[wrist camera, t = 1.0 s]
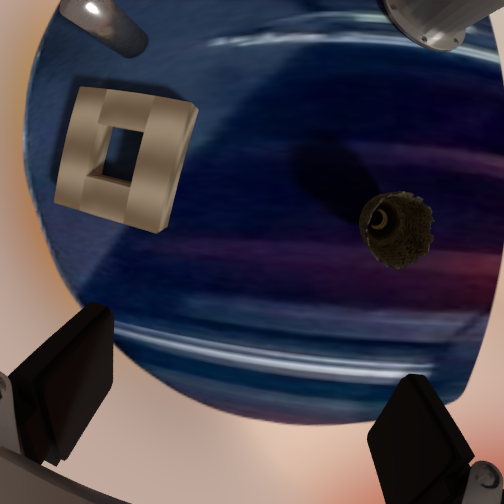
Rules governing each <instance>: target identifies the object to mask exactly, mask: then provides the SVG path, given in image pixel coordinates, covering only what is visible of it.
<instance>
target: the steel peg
mask: <svg viewBox="0 0 504 504" xmlns="http://www.w3.org/2000/svg"><path fill="white" fill-rule="evenodd" d="M59 10H60V13H61V15H63V16H64V17H66V18H67V19H69V20H70V21H72V22H74V23H75V24H77V25H78V26H80V27H81V28H83V29H84V30H86V31H87V32H89V33H90V34H92V35H93V36H95V37H96V38H97V39H99V40H100V41H102V42H103V43H105V44H106V45H108V46H109V47H110V48H112V49H113V50H115V51H116V52H117V53H119V54H120V55H122V56H123V57H125V58H134V57H137V56H139V55H140V54H142V53H143V52H144V50H145V49H146V47H147V45H148V36H147V35H146V34H145V33H144V32H143V30H142V29H141V28H140V27H139V26H138V25H137V24H136V23H135V22H134V21H133V20H132V19H131V18H130V17H129V16H128V15H127V14H126V13H125V12H124V11H123V10H122V9H121V8H120V7H119V6H118V5H117V4H116V3H115V2H114V1H113V0H62V1H61V3H60V8H59Z"/></svg>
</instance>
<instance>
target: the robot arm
mask: <svg viewBox="0 0 504 504" xmlns="http://www.w3.org/2000/svg"><path fill="white" fill-rule="evenodd" d="M383 3H384V6H385V9H386V11H387V13H388V15H389V17H390V18H391V20H392V21H393V23H394V24H395V25H396V26H397V27H398V29H399V30H400V31H401V32H403V33H404V34H405V35H406V36H407V37H408V38H410V39H411V40H412V41H414V42H415V43H417V44H419V45H420V46H422V47H425V48H427V49H430V50H433V51H437V52H447V51H451V50H453V49H455V48H457V47H458V46H460V45H461V43H462V42H463V40H464V37H465V30H466V29H465V28H467V27H469V26H470V25H472V24H474V23H476V22H477V21H479V20H481V19H482V18H484V17H486V16H488V15H489V14H491V13H493V12H495V11H496V10H498V9H500V8H502V7H504V0H383ZM113 339H114V314H113V313H111V312H110V308H109V307H107V306H105V305H102V304H99V303H96V302H90V303H89V304H88V305H87V306H85V307H84V308H83V309H82V310H81V311H80V312H78V313H77V314H76V315H75V316H74V317H73V318H72V319H70V320H69V321H68V322H67V323H66V324H65V325H64V326H62V327H61V328H60V329H59V330H58V331H57V332H55V333H54V334H53V335H52V336H51V337H50V338H48V339H47V340H46V341H45V342H44V343H43V344H42V345H41V346H40V347H39V348H37V349H36V350H35V351H34V352H33V353H32V354H31V355H30V356H29V357H28V358H27V359H26V360H25V361H23V362H22V363H21V364H20V365H19V366H18V367H17V368H16V369H15V370H14V371H13V372H12V373H11V374H10V375H9V376H8V377H7V376H6V375H5V374H3V373H2V372H0V504H131V503H128V502H125V501H122V500H119V499H117V498H114V497H111V496H109V495H106V494H103V493H101V492H98V491H96V490H93V489H91V488H88V487H86V486H84V485H81V484H79V483H77V482H75V481H72V480H70V479H68V478H66V477H64V476H62V475H60V474H58V473H56V472H54V471H52V470H50V469H48V468H46V467H44V466H42V465H41V464H42V463H43V461H44V460H45V461H47V462H49V463H50V464H52V465H54V466H57V465H58V463H59V462H60V460H61V459H62V460H64V461H65V460H66V459H67V458H68V457H69V455H70V453H71V452H72V450H73V448H74V447H75V445H76V443H77V442H78V440H79V438H80V437H81V435H82V434H83V432H84V430H85V428H86V427H87V425H88V424H89V422H90V420H91V419H92V417H93V416H94V414H95V413H96V411H97V409H98V408H99V406H100V405H101V403H102V402H103V400H104V398H105V397H106V395H107V394H108V392H109V391H110V389H111V386H112V383H113ZM367 442H368V446H369V448H370V452H371V455H372V459H373V462H374V465H375V468H376V472H377V475H378V478H379V482H380V485H381V489H382V492H383V496H384V499H385V503H386V504H504V489H503V477H502V474H501V472H500V471H499V469H498V468H497V467H496V466H495V465H493V464H492V463H490V462H487V461H477V462H475V463H474V464H473V465H472V466H471V467H470V465H469V462H470V461H471V460H472V459H473V458H474V457H475V455H474V453H473V452H472V450H471V448H470V447H469V445H468V443H467V441H466V440H465V438H464V436H463V435H462V433H461V431H460V430H459V428H458V426H457V425H456V423H455V422H454V420H453V418H452V417H451V415H450V414H449V412H448V410H447V409H446V408H445V406H444V404H443V403H442V401H441V399H440V398H439V396H438V395H437V393H436V392H435V390H434V389H433V387H432V386H431V384H430V383H429V381H428V380H427V378H426V377H425V376H424V375H419V374H408V375H407V376H406V377H404V378H402V379H401V380H400V382H399V384H398V386H397V387H396V389H395V391H394V392H393V394H392V396H391V398H390V399H389V401H388V403H387V404H386V406H385V407H384V409H383V411H382V412H381V414H380V415H379V417H378V419H377V420H376V422H375V423H374V425H373V426H372V428H371V429H370V431H369V432H368V435H367Z"/></svg>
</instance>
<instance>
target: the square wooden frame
mask: <svg viewBox="0 0 504 504" xmlns="http://www.w3.org/2000/svg"><path fill="white" fill-rule="evenodd" d="M198 110H199V109H198V108H197V107H195V106H194V105H193V104H192V103H191V102H186V101H181V100H176V99H171V98H165V97H159V96H153V95H147V94H141V93H134V92H127V91H119V90H111V89H102V88H92V87H81V86H80V89H79V92H78V95H77V98H76V102H75V105H74V109H73V112H72V116H71V120H70V124H69V128H68V132H67V136H66V140H65V145H64V149H63V154H62V159H61V164H60V169H59V174H58V180H57V186H56V193H55V199H54V203H57V204H60V205H64V206H67V207H70V208H73V209H77V210H80V211H83V212H87V213H90V214H93V215H96V216H100V217H103V218H106V219H110V220H113V221H116V222H120V223H123V224H126V225H130V226H133V227H136V228H140V229H143V230H146V231H150V232H153V233H158V232H159V231H161V230H163V229H164V228H166V227H167V226H168V222H169V217H170V213H171V209H172V205H173V200H174V196H175V192H176V188H177V184H178V181H179V177H180V173H181V169H182V165H183V162H184V158H185V154H186V151H187V147H188V144H189V140H190V137H191V133H192V130H193V127H194V123H195V120H196V117H197V114H198ZM113 127H116V128H122V129H127V130H132V131H137V132H142V133H144V135H143V138H142V142H141V146H140V150H139V154H138V158H137V162H136V166H135V170H134V174H133V178H132V182H130V181H126V180H122V179H118V178H114V177H110V176H106V175H102V171H103V167H104V162H105V158H106V153H107V149H108V145H109V141H110V137H111V133H112V130H113Z"/></svg>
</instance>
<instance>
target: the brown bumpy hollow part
mask: <svg viewBox="0 0 504 504" xmlns="http://www.w3.org/2000/svg"><path fill="white" fill-rule="evenodd" d="M413 195H414V194H412V193H409V192H404V191H402V192H391V193H384V194H380V195H378V196H375V197H374V198H372V199H371V200H370V201H368V202H367V204H366V205H365V206H364V208H363V209H362V212H361V215H360V219H359V228H360V233H361V236H362V238H363V240H364V242H365V244H366V245H367V247H368V248H369V250H370V251H371V253H372V255H373V256H374V257H375V258H376V259H377V260H379V261H380V262H381V263H382V264H383V265H384V266H386V267H387V266H388V265H389V266H390V267H392V268H394V269H399V268H406V267H407V265H408V263H412V264H413V263H415V264H416V263H417V258H419V257H423V256H424V255H426V254H427V253H428V252H429V246H430V243H432V242H433V239H434V237H433V235H431V234H430V229H431V225H430V223H431V222H434V219H433V217H432V216H431V213H432V209H431V208H430V207H429V206H428V205H426V204H425V203H423V202H422V200H423V199H422V198H421V197H418V196H413ZM375 211H377V212H380V213H381V214H382V222H381V223H380V224H379V225H373V224H372V223H371V217H372V214H373V213H374V212H375Z"/></svg>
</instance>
